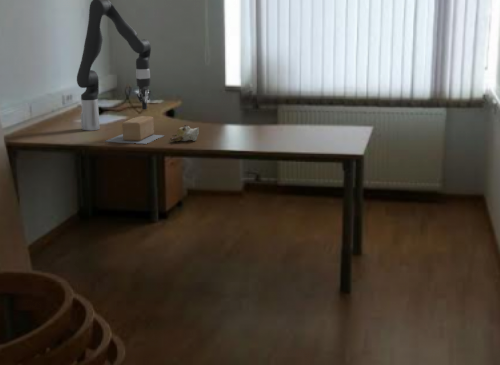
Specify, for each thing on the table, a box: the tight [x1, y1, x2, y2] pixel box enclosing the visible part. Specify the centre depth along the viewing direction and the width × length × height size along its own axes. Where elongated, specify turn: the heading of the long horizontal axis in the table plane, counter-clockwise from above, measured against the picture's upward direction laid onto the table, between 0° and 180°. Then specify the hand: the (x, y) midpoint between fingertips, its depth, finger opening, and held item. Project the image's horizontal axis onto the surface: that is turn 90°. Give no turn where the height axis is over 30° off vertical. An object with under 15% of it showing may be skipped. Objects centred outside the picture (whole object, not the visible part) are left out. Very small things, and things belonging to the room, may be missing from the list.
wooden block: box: [121, 115, 155, 141], centre depth 419 cm, size 10×10×20 cm
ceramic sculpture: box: [169, 124, 200, 142], centre depth 411 cm, size 11×9×15 cm
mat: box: [104, 133, 165, 145], centre depth 418 cm, size 24×22×1 cm
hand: (144, 109), depth 427 cm, fingers closed
